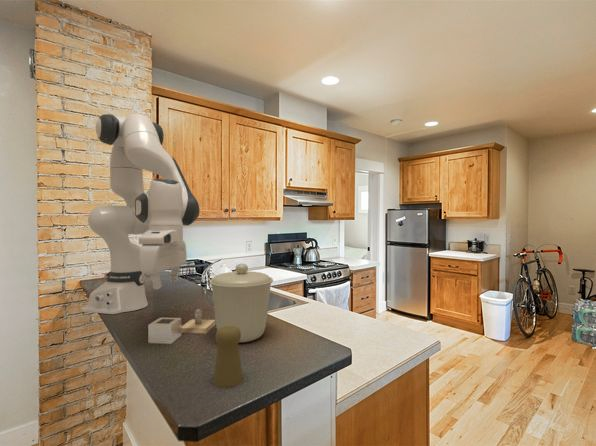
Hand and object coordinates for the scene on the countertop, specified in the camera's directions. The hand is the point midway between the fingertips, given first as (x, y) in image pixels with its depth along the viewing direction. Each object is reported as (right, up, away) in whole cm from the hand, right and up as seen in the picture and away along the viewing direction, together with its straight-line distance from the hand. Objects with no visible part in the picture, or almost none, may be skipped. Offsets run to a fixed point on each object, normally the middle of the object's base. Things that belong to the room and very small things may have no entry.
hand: (166, 285), depth 87 cm
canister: (+21, -16, +2) cm, 26 cm away
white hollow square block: (0, -15, 0) cm, 15 cm away
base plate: (+6, -15, +9) cm, 19 cm away
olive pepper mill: (+23, -16, -22) cm, 35 cm away
